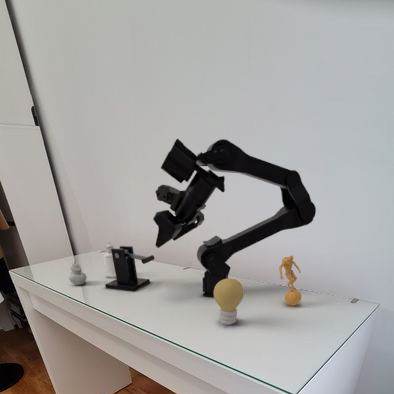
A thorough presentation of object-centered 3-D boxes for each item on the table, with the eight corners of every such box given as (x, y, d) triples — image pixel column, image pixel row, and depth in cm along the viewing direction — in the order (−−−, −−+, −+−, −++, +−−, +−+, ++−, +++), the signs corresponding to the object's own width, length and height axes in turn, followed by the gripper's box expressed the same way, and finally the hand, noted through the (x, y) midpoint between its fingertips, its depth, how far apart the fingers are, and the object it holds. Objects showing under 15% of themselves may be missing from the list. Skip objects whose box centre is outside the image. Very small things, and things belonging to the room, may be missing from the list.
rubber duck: (75, 287, 93) (69, 262, 89) (67, 284, 97) (60, 260, 93) (91, 283, 96) (85, 259, 92) (82, 280, 100) (76, 257, 96)
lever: (154, 262, 87) (154, 254, 86) (145, 266, 83) (145, 257, 82) (124, 255, 90) (123, 247, 89) (114, 258, 87) (113, 250, 85)
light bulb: (224, 314, 69) (224, 273, 64) (247, 321, 65) (249, 277, 60) (208, 324, 64) (207, 280, 59) (232, 331, 61) (233, 285, 56)
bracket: (150, 282, 94) (145, 245, 88) (134, 291, 87) (128, 251, 81) (122, 280, 98) (116, 244, 92) (105, 288, 91) (97, 249, 85)
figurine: (289, 311, 69) (296, 260, 63) (269, 305, 73) (273, 257, 66) (307, 302, 73) (315, 254, 67) (287, 297, 77) (292, 251, 71)
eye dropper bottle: (114, 279, 99) (107, 243, 93) (105, 276, 103) (98, 241, 97) (124, 276, 102) (118, 241, 96) (116, 274, 106) (109, 239, 99)
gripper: (189, 169, 76) (161, 217, 87) (152, 171, 62) (124, 228, 72) (219, 200, 77) (187, 243, 87) (189, 208, 63) (156, 259, 73)
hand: (165, 242), depth 80 cm, fingers open, 9 cm apart
